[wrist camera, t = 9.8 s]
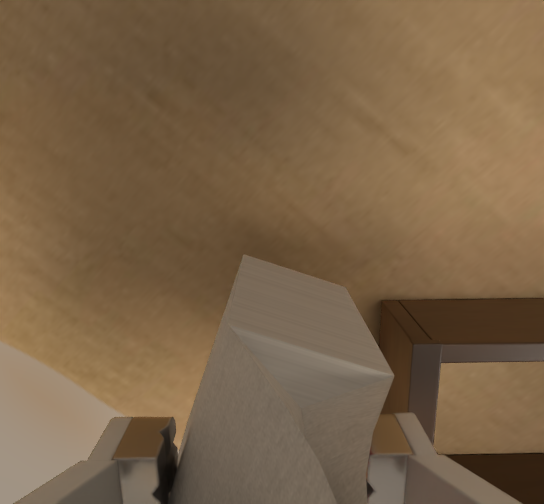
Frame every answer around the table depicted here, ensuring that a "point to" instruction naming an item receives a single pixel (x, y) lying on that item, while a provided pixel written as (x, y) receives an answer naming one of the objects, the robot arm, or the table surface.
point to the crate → (460, 349)
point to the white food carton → (284, 396)
